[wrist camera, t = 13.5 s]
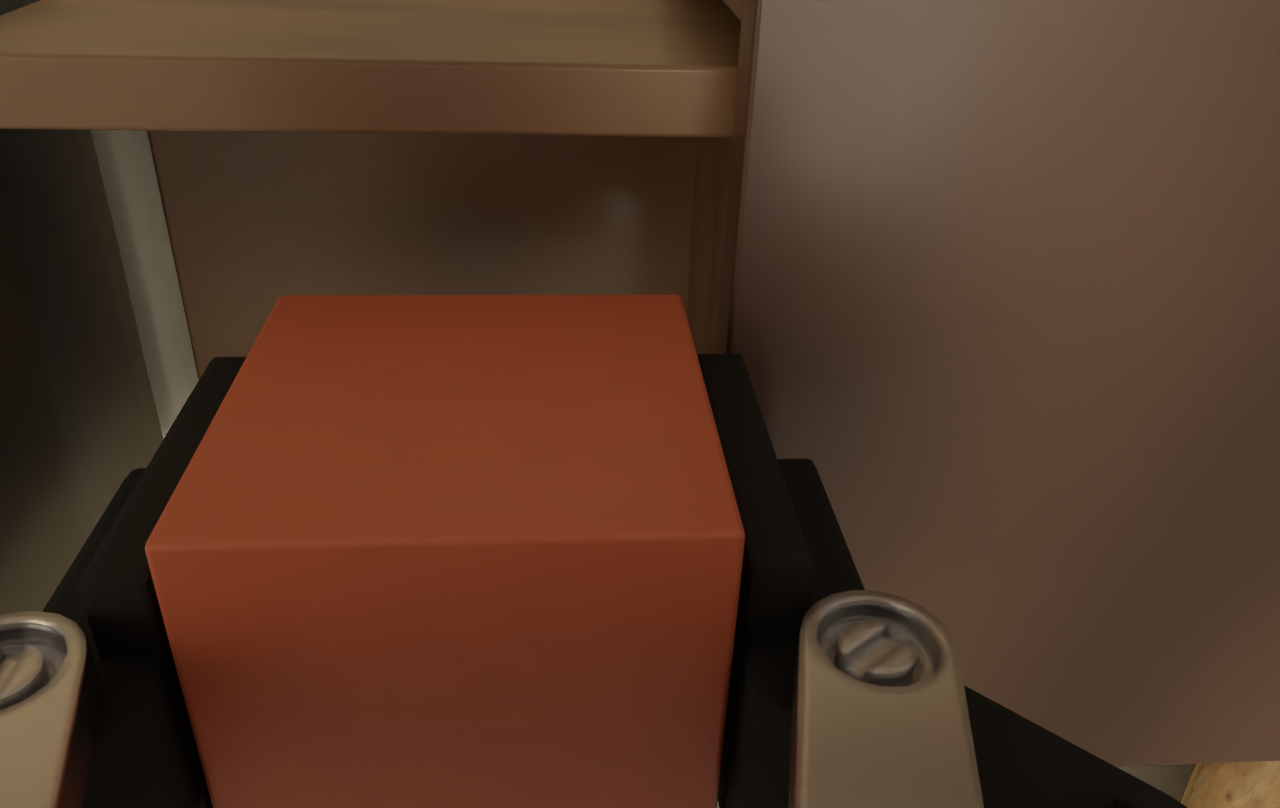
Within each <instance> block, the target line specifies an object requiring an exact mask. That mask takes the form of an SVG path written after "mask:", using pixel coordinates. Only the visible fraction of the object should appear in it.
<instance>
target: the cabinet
mask: <svg viewBox="0 0 1280 808" xmlns="http://www.w3.org/2000/svg"><path fill="white" fill-rule="evenodd" d="M722 1H723V2H724V3H725V4H726V5H727V6H728V7H729V9H730V10H731V11H732V12H733V13H734V14H735V15H736V17H737V18H738V19H739V20H740V21H741V32H740V45H739V58H738V70H737V83H736V96H735V109H734V122H733V135H732V147H731V160H730V173H729V186H728V199H727V211H726V224H725V237H724V250H723V263H722V275H721V288H720V301H719V314H718V327H717V340H716V352H715V354H741V356H742V358H743V361H744V364H745V367H746V370H747V372H748V375H749V378H750V381H751V384H752V387H753V390H754V393H755V396H756V399H757V401H758V404H759V407H760V410H761V413H762V416H763V419H764V422H765V425H766V428H767V430H768V433H769V436H770V439H771V442H772V445H773V448H774V451H775V454H776V457H777V459H800V458H808V459H810V460H812V461H813V463H814V465H815V466H816V468H817V471H818V473H819V476H820V478H821V481H822V483H823V486H824V488H825V491H826V493H827V496H828V498H829V501H830V503H831V506H832V508H833V511H834V513H835V516H836V518H837V521H838V523H839V526H840V528H841V531H842V534H843V536H844V539H845V541H846V544H847V546H848V549H849V551H850V554H851V556H852V559H853V561H854V564H855V566H856V569H857V571H858V574H859V576H860V579H861V581H862V584H863V586H864V589H865V590H869V591H879V592H883V593H888V594H892V595H897V596H900V597H902V598H904V599H907V600H909V601H911V602H913V603H916V604H918V605H920V606H922V607H923V608H924V609H926V610H927V611H929V612H930V613H931V614H933V615H934V616H936V617H937V618H938V619H939V620H940V621H941V622H942V623H943V625H944V626H945V627H946V628H947V629H948V630H949V632H950V633H951V634H952V636H953V639H954V641H955V644H956V647H957V649H958V652H959V658H960V664H961V670H962V676H963V682H964V685H965V686H967V687H968V688H970V689H972V690H974V691H976V692H978V693H980V694H981V695H983V696H985V697H987V698H989V699H991V700H993V701H994V702H996V703H998V704H1000V705H1002V706H1004V707H1006V708H1007V709H1009V710H1011V711H1013V712H1015V713H1017V714H1019V715H1020V716H1022V717H1024V718H1026V719H1028V720H1030V721H1032V722H1034V723H1035V724H1037V725H1039V726H1041V727H1043V728H1045V729H1047V730H1048V731H1050V732H1052V733H1054V734H1056V735H1058V736H1060V737H1061V738H1063V739H1065V740H1067V741H1069V742H1071V743H1073V744H1074V745H1076V746H1078V747H1080V748H1082V749H1084V750H1086V751H1087V752H1089V753H1091V754H1093V755H1095V756H1097V757H1099V758H1100V759H1102V760H1104V761H1106V762H1108V763H1110V764H1112V765H1113V766H1115V767H1132V766H1158V765H1183V764H1209V763H1235V762H1260V761H1280V0H722Z"/></svg>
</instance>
